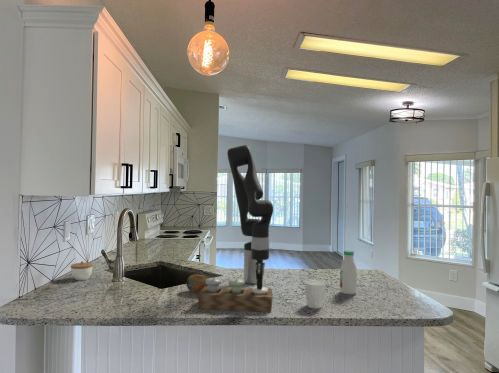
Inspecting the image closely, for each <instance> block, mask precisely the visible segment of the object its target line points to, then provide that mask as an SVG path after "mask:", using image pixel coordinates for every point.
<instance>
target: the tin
mask: <svg viewBox="0 0 499 373" xmlns="http://www.w3.org/2000/svg"><path fill="white" fill-rule="evenodd" d="M208 278H213V277H212V276H209V275H204V274H197V273H196V274H191V275H189V276H188V277H187V279H186V287H187V289H188V291H189V292H191V293H194V294H199V293H200V292H201V290H202V289H203V288H204V287H205V286H208V285H207V284H206V279H208Z"/></svg>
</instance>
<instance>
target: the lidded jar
mask: <svg viewBox="0 0 499 373" xmlns="http://www.w3.org/2000/svg"><path fill="white" fill-rule="evenodd" d="M93 265H94V264H93V263H92V262H84V261H83V260H81V261H80V262H76V263H72V264H70V273H71V275H72V276H71V277H72V278H74V280H76V281H86V280H88V279H89V278H90V277H91V275H92V273H93V268H94V267H93Z"/></svg>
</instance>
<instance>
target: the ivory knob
mask: <svg viewBox="0 0 499 373" xmlns="http://www.w3.org/2000/svg"><path fill="white" fill-rule="evenodd" d="M251 288H252V293H254V294H260V295H266V293H268V289H269V288H268V287H266V286H262V289H257V286H253V287H251Z"/></svg>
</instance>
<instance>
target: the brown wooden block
mask: <svg viewBox="0 0 499 373" xmlns="http://www.w3.org/2000/svg"><path fill="white" fill-rule="evenodd" d="M252 288H253V287H242V294H234V293H231V286H219V293H208V286H205V287H204V288H203V289H202V290H201V292H200V293H197V294H198V296H197V297H198V300H197V301H198V304H197V305H198V306H197V307H198V309H199V310H213V311H214V310H217V311H220V310H221V311H241V312H259V313H260V312H264V313H267V312H268V313H272V306H273V288H268V293H266V295H260V294H254V293H252Z"/></svg>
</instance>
